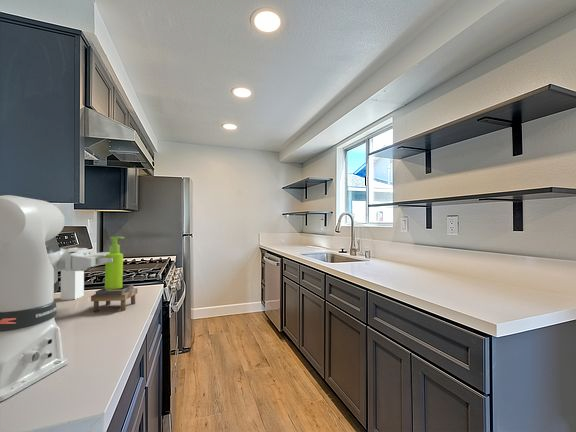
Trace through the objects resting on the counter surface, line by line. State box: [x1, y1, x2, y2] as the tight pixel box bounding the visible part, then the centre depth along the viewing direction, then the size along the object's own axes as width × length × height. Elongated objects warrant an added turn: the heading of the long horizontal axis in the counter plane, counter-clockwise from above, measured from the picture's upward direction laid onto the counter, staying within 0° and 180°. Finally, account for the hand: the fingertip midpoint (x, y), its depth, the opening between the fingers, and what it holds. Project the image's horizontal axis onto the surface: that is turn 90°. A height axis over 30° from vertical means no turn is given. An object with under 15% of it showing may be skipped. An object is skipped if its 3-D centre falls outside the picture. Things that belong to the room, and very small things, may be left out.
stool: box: [90, 284, 138, 313], centre depth 113 cm, size 11×12×8 cm
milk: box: [60, 247, 85, 301], centre depth 128 cm, size 6×6×22 cm
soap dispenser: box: [104, 236, 126, 290], centre depth 113 cm, size 6×7×20 cm
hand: (117, 258), depth 114 cm, fingers closed on soap dispenser, 6 cm apart
